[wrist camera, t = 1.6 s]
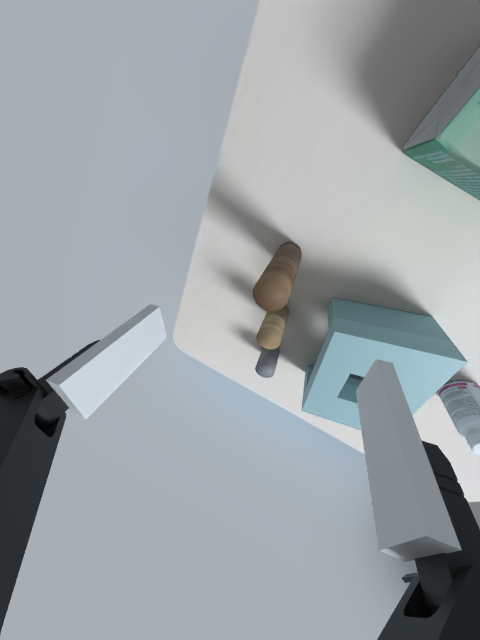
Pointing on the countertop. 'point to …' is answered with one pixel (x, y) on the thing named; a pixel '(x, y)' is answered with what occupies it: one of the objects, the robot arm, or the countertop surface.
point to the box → (453, 132)
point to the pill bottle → (464, 410)
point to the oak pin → (272, 328)
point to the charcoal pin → (267, 362)
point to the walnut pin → (278, 278)
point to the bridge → (377, 343)
